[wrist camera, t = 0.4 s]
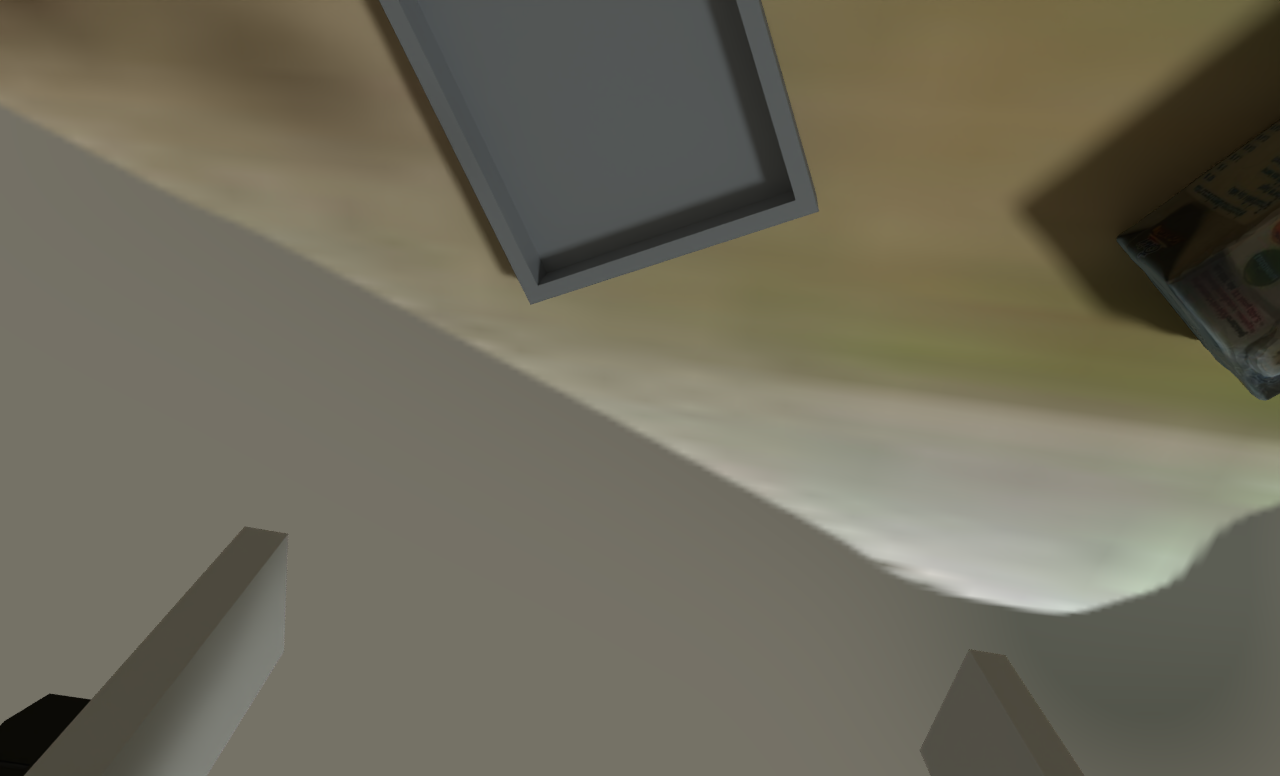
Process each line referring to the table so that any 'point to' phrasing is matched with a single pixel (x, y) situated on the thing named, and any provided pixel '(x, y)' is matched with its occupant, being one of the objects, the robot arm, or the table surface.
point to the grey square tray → (610, 127)
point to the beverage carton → (1223, 260)
